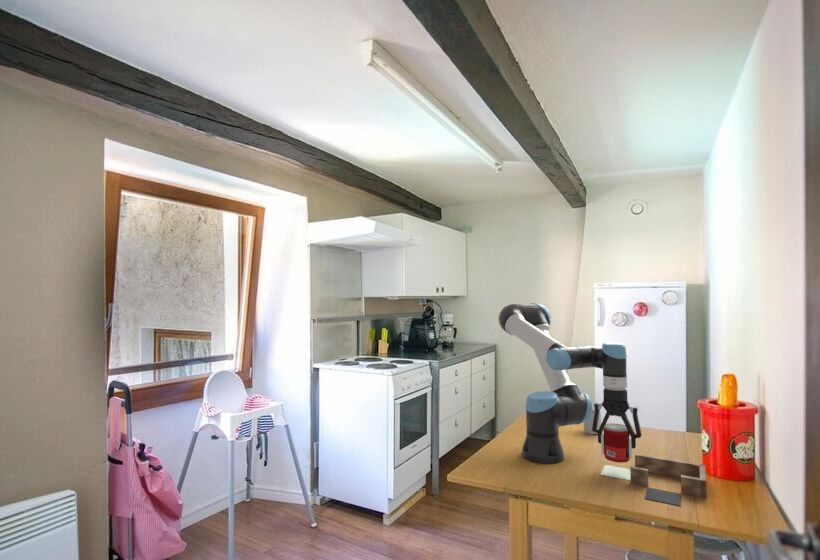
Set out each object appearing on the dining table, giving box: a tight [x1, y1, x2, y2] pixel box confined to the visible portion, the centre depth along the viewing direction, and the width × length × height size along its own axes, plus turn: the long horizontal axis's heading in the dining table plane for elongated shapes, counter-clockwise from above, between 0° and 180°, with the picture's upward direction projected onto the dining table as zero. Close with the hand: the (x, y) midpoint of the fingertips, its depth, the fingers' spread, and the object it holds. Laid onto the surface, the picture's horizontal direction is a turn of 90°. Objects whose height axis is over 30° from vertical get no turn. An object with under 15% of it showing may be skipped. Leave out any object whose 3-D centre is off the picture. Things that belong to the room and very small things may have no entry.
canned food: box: [603, 422, 630, 463], centre depth 155 cm, size 8×8×11 cm
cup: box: [583, 409, 602, 435], centre depth 201 cm, size 7×10×9 cm
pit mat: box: [644, 486, 682, 507], centre depth 137 cm, size 9×9×1 cm
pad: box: [600, 464, 631, 481], centre depth 155 cm, size 9×10×1 cm
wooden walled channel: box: [629, 453, 707, 499], centre depth 147 cm, size 20×15×5 cm
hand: (616, 455), depth 155 cm, fingers closed on canned food, 8 cm apart
